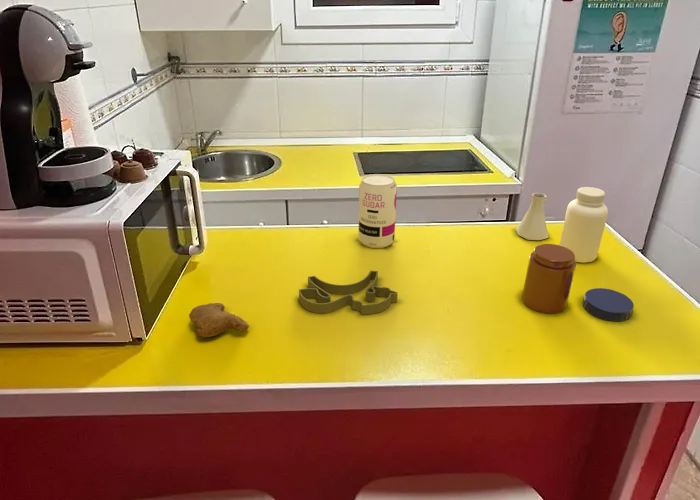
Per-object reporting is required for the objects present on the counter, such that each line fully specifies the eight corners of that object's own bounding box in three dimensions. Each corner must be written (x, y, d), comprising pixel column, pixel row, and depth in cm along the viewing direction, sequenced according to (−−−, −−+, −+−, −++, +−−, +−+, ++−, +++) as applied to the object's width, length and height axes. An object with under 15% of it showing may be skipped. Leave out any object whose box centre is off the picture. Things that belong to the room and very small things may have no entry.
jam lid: (627, 300, 98) (629, 291, 97) (635, 325, 91) (638, 316, 90) (580, 293, 100) (582, 284, 99) (584, 317, 93) (587, 308, 92)
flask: (510, 229, 126) (517, 190, 121) (537, 226, 127) (545, 188, 122) (525, 242, 119) (532, 202, 115) (554, 239, 121) (562, 199, 116)
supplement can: (389, 232, 124) (391, 172, 117) (397, 248, 116) (401, 185, 109) (355, 234, 122) (356, 174, 115) (362, 250, 115) (363, 187, 108)
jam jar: (572, 314, 94) (585, 263, 89) (528, 313, 94) (538, 262, 89) (558, 290, 101) (569, 242, 96) (516, 289, 101) (525, 241, 96)
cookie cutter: (386, 277, 105) (386, 269, 104) (401, 311, 94) (401, 302, 93) (297, 285, 102) (296, 276, 101) (302, 320, 92) (302, 311, 91)
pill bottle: (550, 254, 114) (564, 190, 107) (568, 243, 119) (582, 181, 112) (586, 267, 109) (602, 201, 102) (602, 255, 114) (619, 191, 107)
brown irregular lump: (249, 337, 87) (248, 319, 86) (188, 344, 85) (185, 326, 84) (248, 304, 96) (246, 288, 94) (192, 310, 94) (189, 293, 92)
